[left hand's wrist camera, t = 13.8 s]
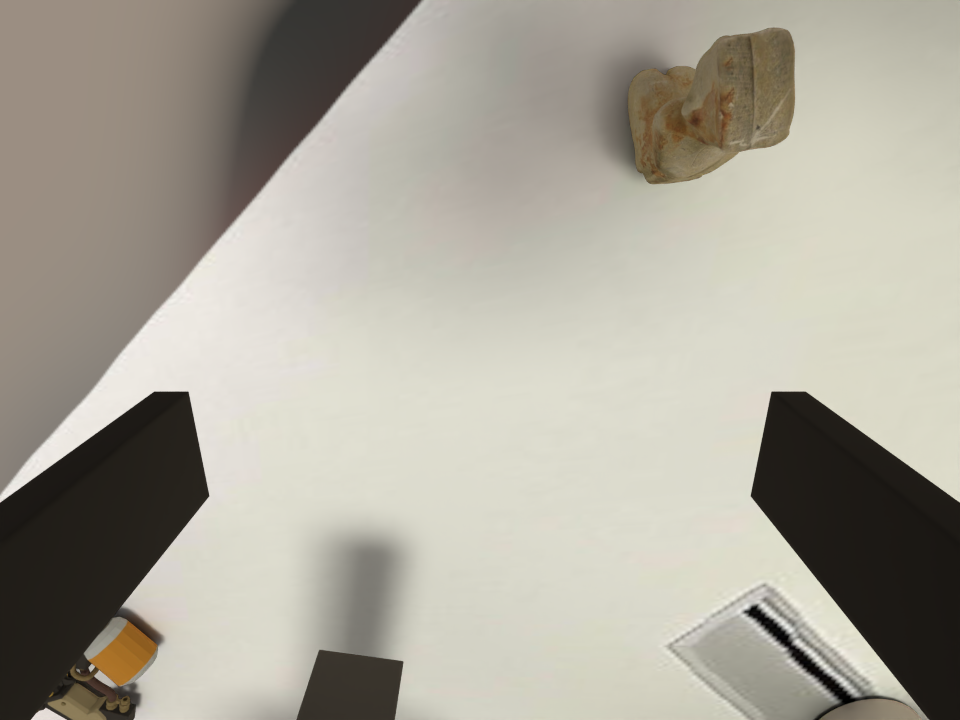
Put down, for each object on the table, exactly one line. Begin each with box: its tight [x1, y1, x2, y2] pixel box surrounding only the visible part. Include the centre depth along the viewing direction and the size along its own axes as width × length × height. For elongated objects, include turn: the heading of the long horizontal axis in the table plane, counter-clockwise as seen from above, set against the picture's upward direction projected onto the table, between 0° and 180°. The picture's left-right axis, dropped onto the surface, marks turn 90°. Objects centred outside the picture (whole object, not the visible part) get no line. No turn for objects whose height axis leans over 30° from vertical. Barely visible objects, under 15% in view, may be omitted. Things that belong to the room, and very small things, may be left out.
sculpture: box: [628, 28, 795, 184], centre depth 31 cm, size 6×7×15 cm
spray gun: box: [36, 617, 158, 720], centre depth 54 cm, size 4×17×15 cm
